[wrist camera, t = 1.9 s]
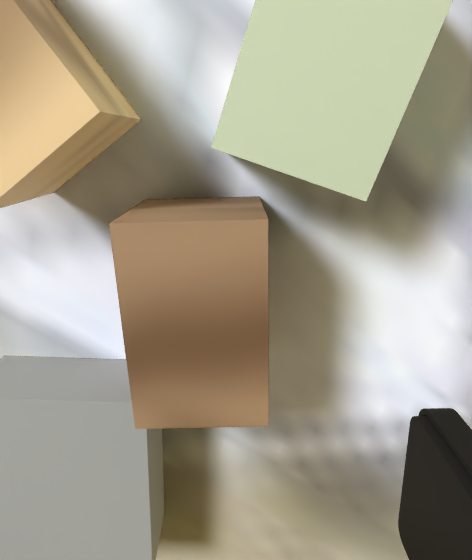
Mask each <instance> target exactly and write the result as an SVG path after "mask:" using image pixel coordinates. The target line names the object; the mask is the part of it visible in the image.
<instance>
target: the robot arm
mask: <svg viewBox="0 0 472 560" xmlns="http://www.w3.org/2000/svg"><path fill="white" fill-rule="evenodd" d="M398 525H399V533H400V537H401V541H402V543H403V546H404V548H405V551H406V553H407V555H408V558H409V560H472V430H471V428H470V427H469V426H468V425H467V424H466V422H465V421H464V420H463V419H462V418H461V416H460V415H459V414H458V413H457V412H456V411H455V410H454V409H451V408H438V409H422V410H421V411H420V413H419V416H414V417H412V419H411V421H410V428H409V437H408V445H407V453H406V461H405V470H404V478H403V486H402V495H401V503H400V511H399V520H398Z"/></svg>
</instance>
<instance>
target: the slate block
mask: <svg viewBox="0 0 472 560" xmlns="http://www.w3.org/2000/svg"><path fill="white" fill-rule="evenodd" d="M164 514H165V509H164V472H163V435H162V428H160V429H135V424H134V416H133V408H132V400H131V392H130V385H129V377H128V369H127V361H126V359H97V358H65V357H34V356H3V357H2V358H1V359H0V560H155V559H156V554H157V549H158V544H159V539H160V534H161V529H162V524H163V519H164Z"/></svg>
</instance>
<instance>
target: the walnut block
mask: <svg viewBox="0 0 472 560" xmlns="http://www.w3.org/2000/svg"><path fill="white" fill-rule="evenodd" d="M109 228H110V235H111V243H112V251H113V259H114V267H115V275H116V282H117V290H118V298H119V306H120V314H121V322H122V330H123V337H124V345H125V353H126V361H127V369H128V377H129V385H130V392H131V400H132V408H133V416H134V424H135V429H160V428H207V427H254V426H269V355H268V217H267V215H266V212H265V210H264V207H263V205H262V202H261V200H260V197H222V198H185V199H149V200H144V201H142V202H141V203H139V204H138V205H136V206H135V207H133V208H132V209H130V210H129V211H127V212H126V213H124V214H123V215H121V216H120V217H118V218H117V219H115V220H114V221H112V222H111V223H109Z"/></svg>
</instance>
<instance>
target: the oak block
mask: <svg viewBox="0 0 472 560" xmlns="http://www.w3.org/2000/svg"><path fill="white" fill-rule="evenodd" d="M140 120H141V119H140V117H139V116H138V115H137V113H136V112H135V111H134V109H133V108H132V107H131V105H130V104H129V103H128V101H127V100H126V99H125V98H124V96H123V95H122V94H121V92H120V91H119V90H118V88H117V87H116V86H115V84H114V83H113V82H112V80H111V79H110V78H109V76H108V75H107V74H106V72H105V71H104V70H103V68H102V67H101V66H100V64H99V63H98V62H97V60H96V59H95V58H94V56H93V55H92V54H91V52H90V51H89V50H88V48H87V47H86V46H85V44H84V43H83V42H82V40H81V39H80V38H79V37H78V35H77V34H76V33H75V31H74V30H73V29H72V27H71V26H70V25H69V23H68V22H67V21H66V19H65V18H64V17H63V15H62V14H61V13H60V11H59V10H58V9H57V7H56V6H55V5H54V3H53V2H52V1H51V0H0V208H2V207H6V206H9V205H12V204H16V203H19V202H23V201H26V200H29V199H33V198H36V197H40V196H43V195H46V194H50V193H53V192H55V191H56V190H57V189H58V188H60V187H61V186H62V185H63V184H64V183H66V182H67V181H68V180H69V179H70V178H72V177H73V176H74V175H75V174H76V173H78V172H79V171H80V170H81V169H82V168H84V167H85V166H86V165H87V164H88V163H90V162H91V161H92V160H93V159H94V158H96V157H97V156H98V155H99V154H100V153H102V152H103V151H104V150H105V149H106V148H108V147H109V146H110V145H111V144H112V143H114V142H115V141H116V140H117V139H118V138H120V137H121V136H122V135H123V134H124V133H126V132H127V131H128V130H129V129H130V128H132V127H133V126H134V125H135V124H136V123H138V122H139V121H140Z"/></svg>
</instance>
